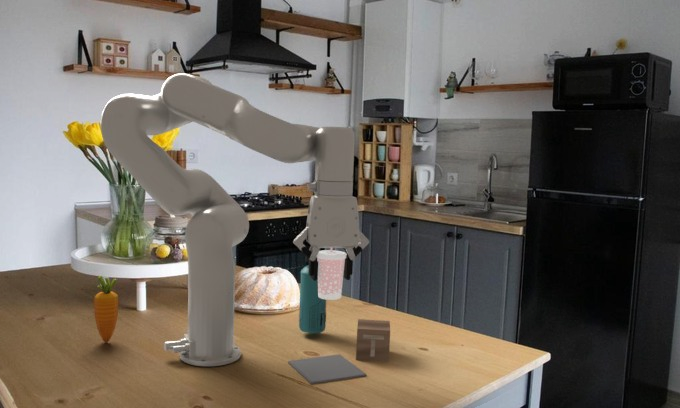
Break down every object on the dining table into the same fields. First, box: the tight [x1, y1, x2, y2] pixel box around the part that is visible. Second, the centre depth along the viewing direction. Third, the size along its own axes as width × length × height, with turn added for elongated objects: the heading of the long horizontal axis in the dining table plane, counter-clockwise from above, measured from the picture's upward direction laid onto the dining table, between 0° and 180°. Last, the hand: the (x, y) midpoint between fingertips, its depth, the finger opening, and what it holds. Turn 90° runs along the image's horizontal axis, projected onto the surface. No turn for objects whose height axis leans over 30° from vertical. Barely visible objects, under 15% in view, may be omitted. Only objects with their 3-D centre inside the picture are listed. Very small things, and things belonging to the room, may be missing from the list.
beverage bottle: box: [298, 255, 327, 334], centre depth 151 cm, size 6×7×20 cm
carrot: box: [93, 275, 119, 344], centre depth 140 cm, size 5×5×15 cm
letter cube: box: [355, 318, 391, 363], centre depth 139 cm, size 7×7×7 cm
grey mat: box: [287, 353, 367, 385], centre depth 130 cm, size 12×12×1 cm
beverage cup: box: [317, 248, 347, 301], centre depth 128 cm, size 6×6×14 cm
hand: (330, 278), depth 128 cm, fingers closed on beverage cup, 6 cm apart
